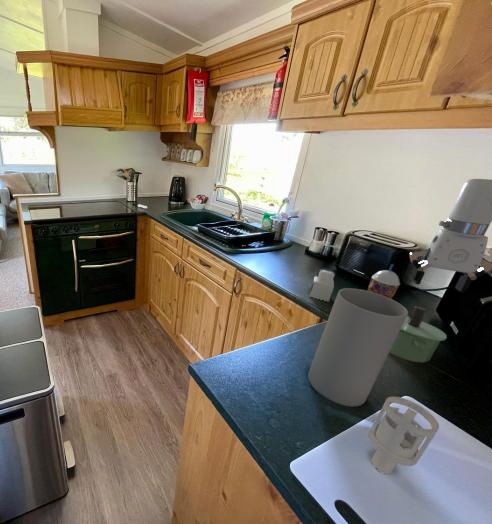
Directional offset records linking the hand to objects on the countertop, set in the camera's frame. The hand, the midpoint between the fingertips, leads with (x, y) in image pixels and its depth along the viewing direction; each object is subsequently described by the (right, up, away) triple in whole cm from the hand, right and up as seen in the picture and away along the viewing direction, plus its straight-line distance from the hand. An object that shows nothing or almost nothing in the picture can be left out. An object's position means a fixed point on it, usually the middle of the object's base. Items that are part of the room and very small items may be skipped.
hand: (436, 286), depth 82 cm
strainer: (-38, -32, -27) cm, 57 cm away
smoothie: (+5, -12, +30) cm, 33 cm away
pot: (-3, -20, +9) cm, 22 cm away
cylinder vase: (-35, -25, -9) cm, 44 cm away
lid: (-3, -12, +4) cm, 13 cm away
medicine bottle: (-10, -8, +39) cm, 41 cm away
